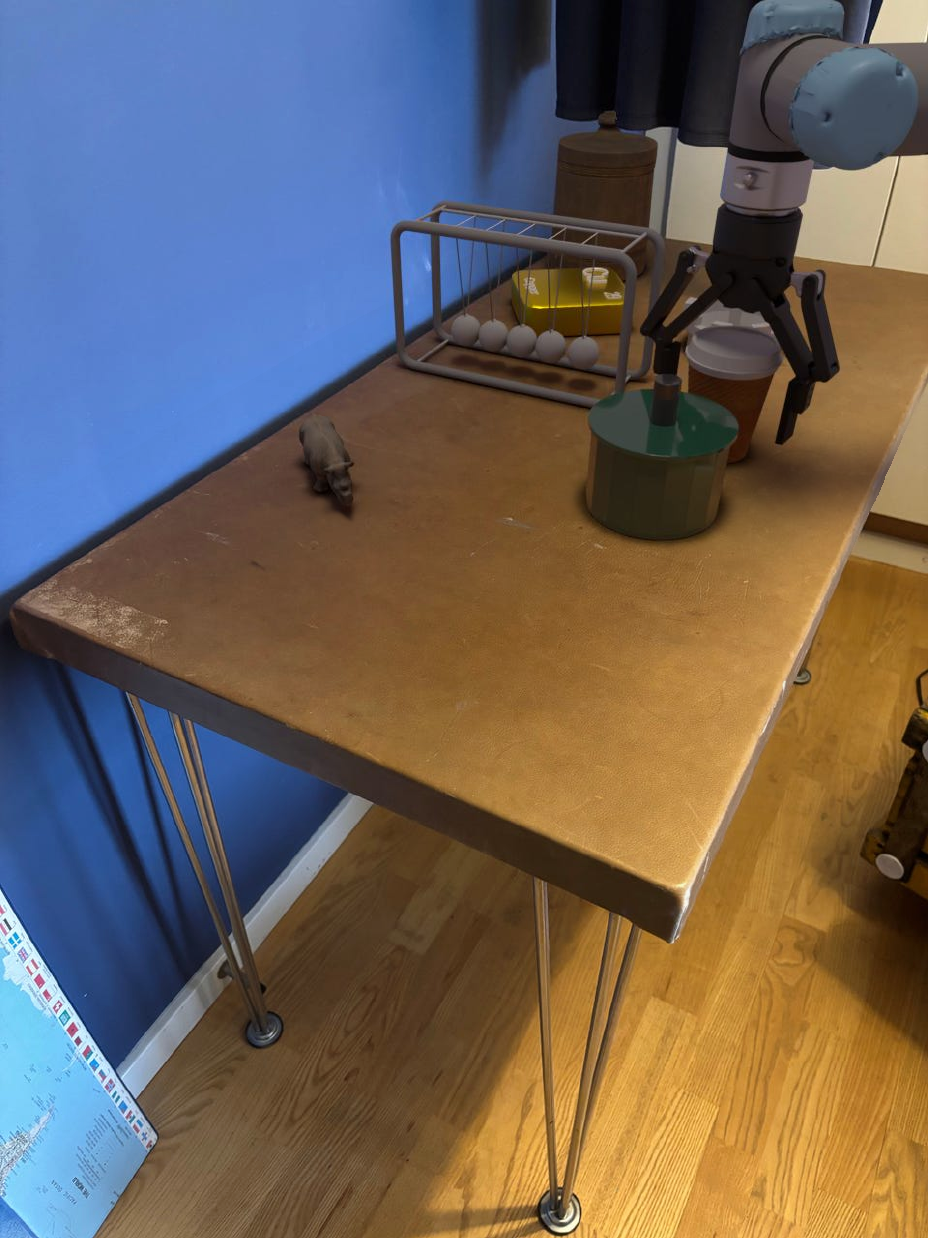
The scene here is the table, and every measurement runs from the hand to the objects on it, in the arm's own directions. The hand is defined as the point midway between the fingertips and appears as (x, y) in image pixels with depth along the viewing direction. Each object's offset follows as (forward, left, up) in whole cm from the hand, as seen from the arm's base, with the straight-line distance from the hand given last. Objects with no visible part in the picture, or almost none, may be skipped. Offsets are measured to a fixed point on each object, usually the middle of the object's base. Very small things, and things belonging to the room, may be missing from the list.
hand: (721, 421), depth 95 cm
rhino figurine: (+27, +31, -4) cm, 41 cm away
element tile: (+34, -23, -4) cm, 41 cm away
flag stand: (+11, -26, -4) cm, 29 cm away
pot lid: (0, +14, +5) cm, 15 cm away
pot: (0, +14, -3) cm, 14 cm away
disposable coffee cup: (0, 0, -4) cm, 4 cm away
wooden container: (+42, -43, -4) cm, 60 cm away
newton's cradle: (+28, -3, -4) cm, 28 cm away
